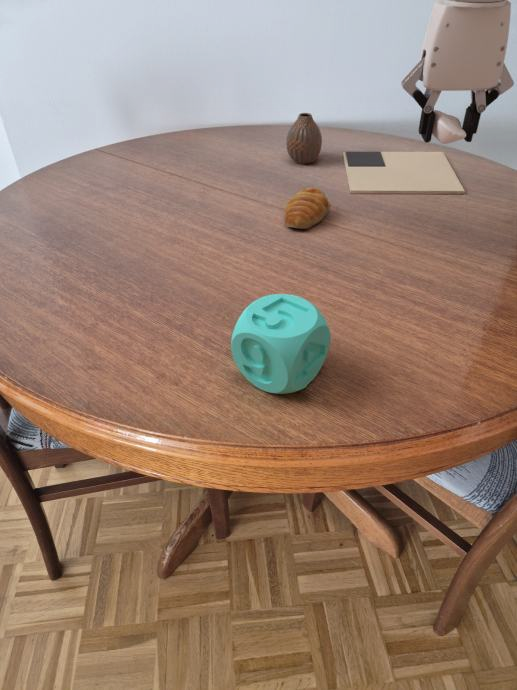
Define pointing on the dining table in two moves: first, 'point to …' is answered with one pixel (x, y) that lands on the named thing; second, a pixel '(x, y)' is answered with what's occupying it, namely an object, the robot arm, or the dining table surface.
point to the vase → (304, 140)
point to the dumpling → (447, 128)
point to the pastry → (306, 208)
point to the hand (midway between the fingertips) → (445, 137)
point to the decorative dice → (280, 343)
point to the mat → (400, 173)
